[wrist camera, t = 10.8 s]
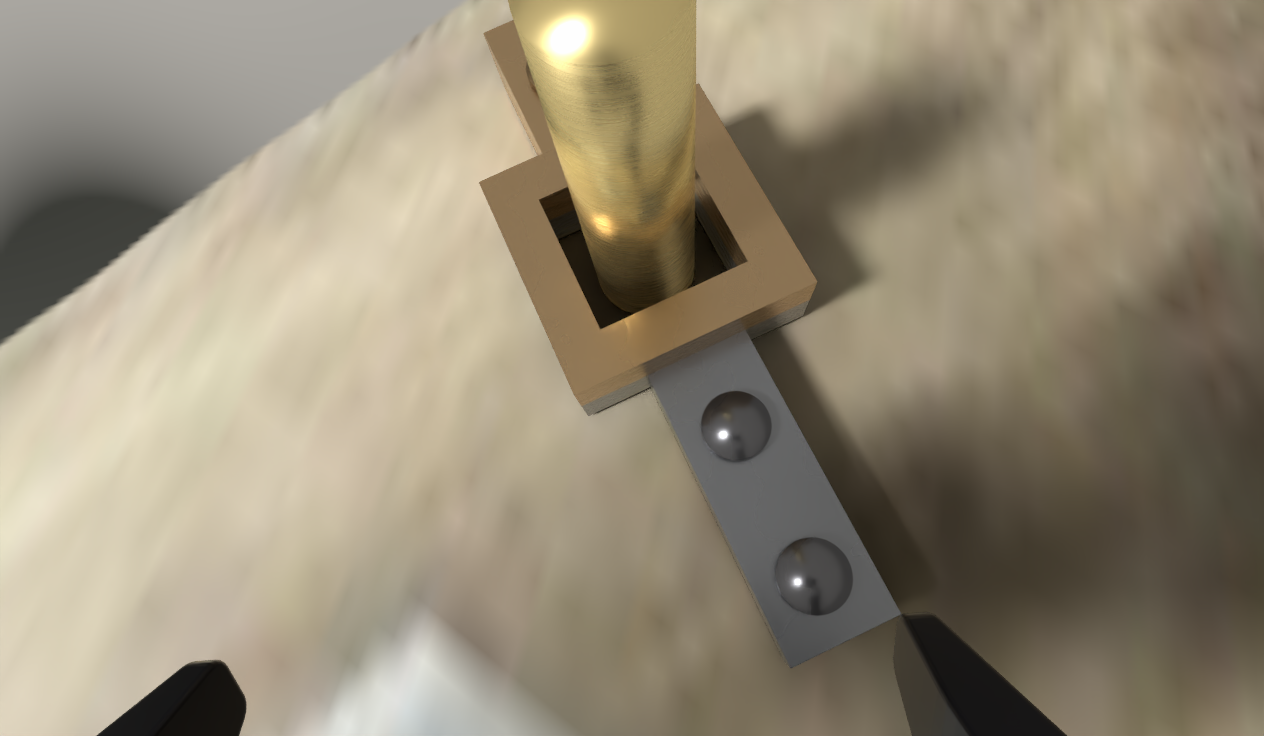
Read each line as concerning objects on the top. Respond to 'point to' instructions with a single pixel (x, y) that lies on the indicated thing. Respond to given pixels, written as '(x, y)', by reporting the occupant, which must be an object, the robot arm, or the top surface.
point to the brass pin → (622, 132)
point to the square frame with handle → (703, 371)
